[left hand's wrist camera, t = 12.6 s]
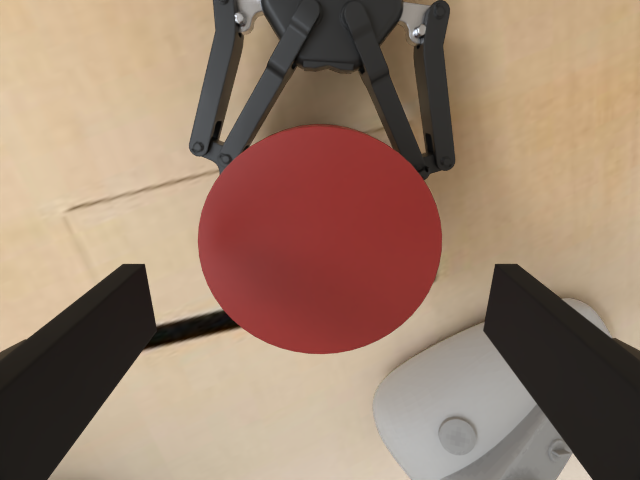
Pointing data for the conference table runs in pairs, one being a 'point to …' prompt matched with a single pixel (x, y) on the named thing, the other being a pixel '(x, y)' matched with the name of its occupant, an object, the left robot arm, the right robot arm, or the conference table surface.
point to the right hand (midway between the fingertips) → (316, 257)
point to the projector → (468, 414)
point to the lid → (320, 239)
